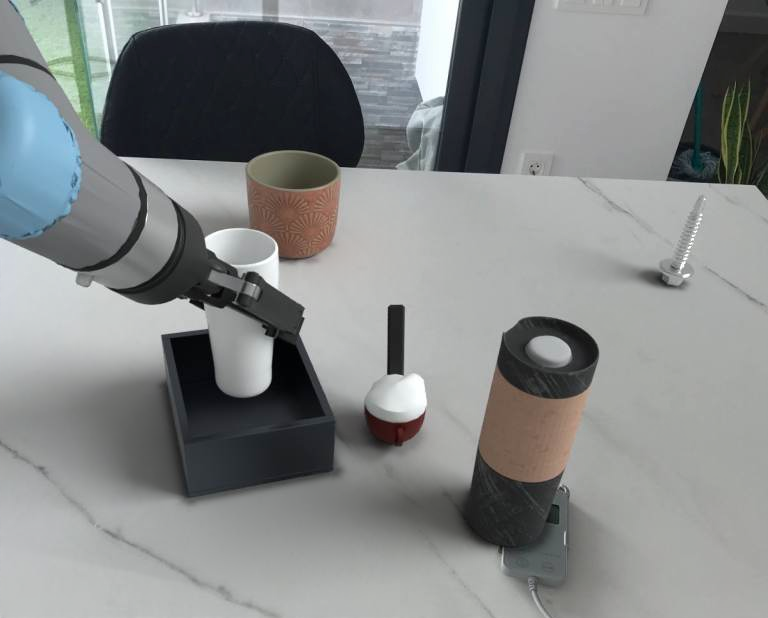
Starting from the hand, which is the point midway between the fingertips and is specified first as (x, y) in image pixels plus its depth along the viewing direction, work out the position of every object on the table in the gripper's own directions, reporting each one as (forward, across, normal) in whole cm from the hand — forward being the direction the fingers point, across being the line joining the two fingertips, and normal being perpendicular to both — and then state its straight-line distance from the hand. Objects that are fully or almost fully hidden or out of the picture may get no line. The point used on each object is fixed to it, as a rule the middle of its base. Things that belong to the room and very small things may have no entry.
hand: (261, 318), depth 74 cm
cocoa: (+10, +13, -6) cm, 18 cm away
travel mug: (+6, +27, -10) cm, 30 cm away
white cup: (+2, 0, -6) cm, 7 cm away
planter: (+30, -14, +14) cm, 36 cm away
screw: (+43, +36, +28) cm, 62 cm away
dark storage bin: (+5, 0, -10) cm, 12 cm away
